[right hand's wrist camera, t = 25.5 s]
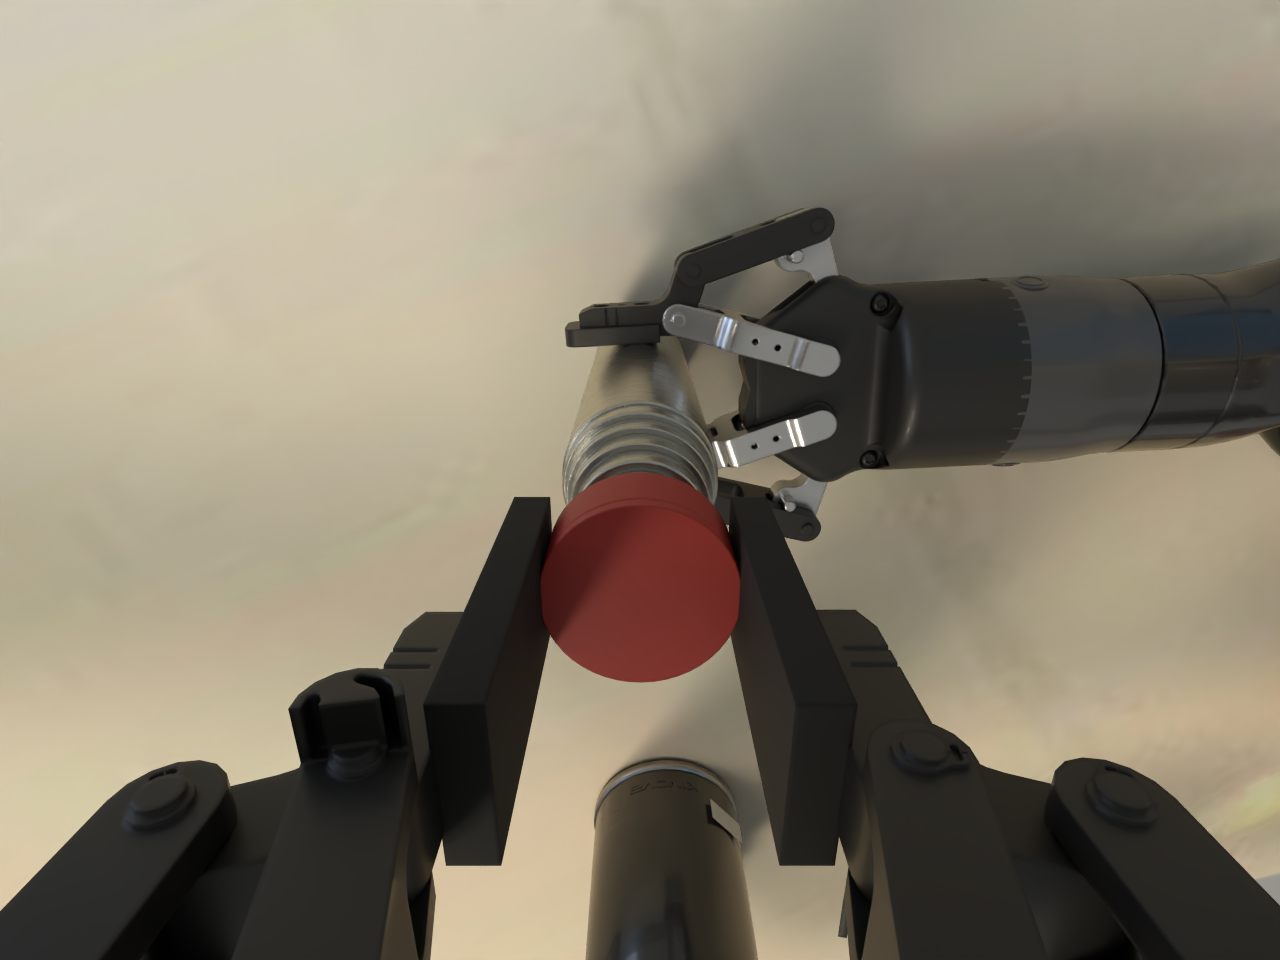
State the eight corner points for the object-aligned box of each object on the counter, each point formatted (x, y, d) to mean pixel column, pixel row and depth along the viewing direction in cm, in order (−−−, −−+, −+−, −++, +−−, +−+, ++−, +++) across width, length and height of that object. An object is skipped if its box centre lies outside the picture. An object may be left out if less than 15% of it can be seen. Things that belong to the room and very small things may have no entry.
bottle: (695, 383, 35) (775, 629, 14) (616, 414, 36) (584, 692, 15) (664, 302, 33) (704, 444, 13) (583, 335, 34) (495, 523, 13)
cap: (756, 597, 15) (770, 644, 13) (595, 656, 16) (589, 707, 14) (691, 442, 14) (697, 473, 12) (517, 512, 14) (501, 551, 13)
